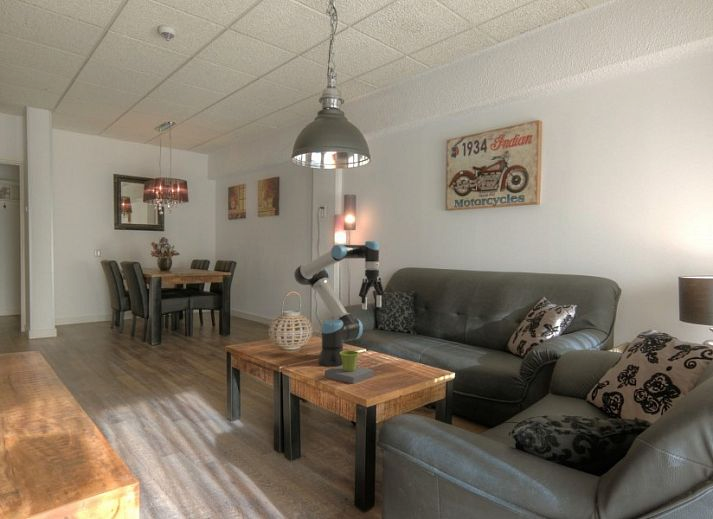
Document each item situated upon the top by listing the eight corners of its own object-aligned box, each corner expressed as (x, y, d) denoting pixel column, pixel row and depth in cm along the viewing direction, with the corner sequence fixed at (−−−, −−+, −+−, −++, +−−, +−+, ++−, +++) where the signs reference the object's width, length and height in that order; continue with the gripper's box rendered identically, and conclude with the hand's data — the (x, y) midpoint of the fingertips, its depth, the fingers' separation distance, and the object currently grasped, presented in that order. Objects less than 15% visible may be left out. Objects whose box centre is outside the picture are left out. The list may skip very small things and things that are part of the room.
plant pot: (343, 373, 204) (343, 355, 204) (336, 368, 212) (336, 351, 212) (361, 371, 208) (361, 353, 207) (354, 366, 216) (354, 349, 216)
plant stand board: (324, 376, 209) (324, 370, 209) (345, 369, 221) (345, 364, 221) (353, 383, 198) (353, 377, 198) (373, 376, 211) (373, 370, 210)
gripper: (363, 270, 220) (363, 311, 221) (390, 269, 240) (390, 306, 240) (352, 269, 225) (352, 309, 225) (379, 268, 245) (379, 305, 245)
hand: (371, 308), depth 233 cm, fingers open, 13 cm apart
